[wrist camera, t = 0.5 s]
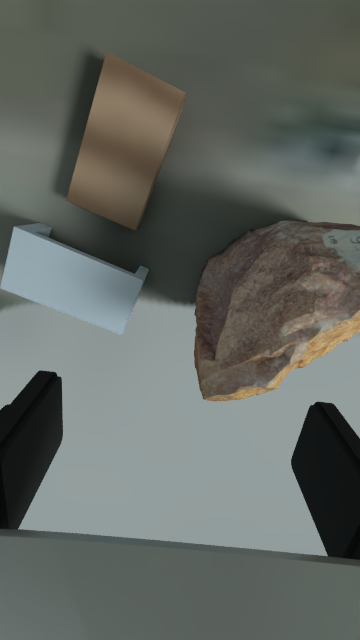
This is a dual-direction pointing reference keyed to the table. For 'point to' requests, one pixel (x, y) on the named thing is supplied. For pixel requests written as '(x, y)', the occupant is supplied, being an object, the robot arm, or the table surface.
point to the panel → (124, 142)
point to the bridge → (70, 279)
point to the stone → (275, 305)
